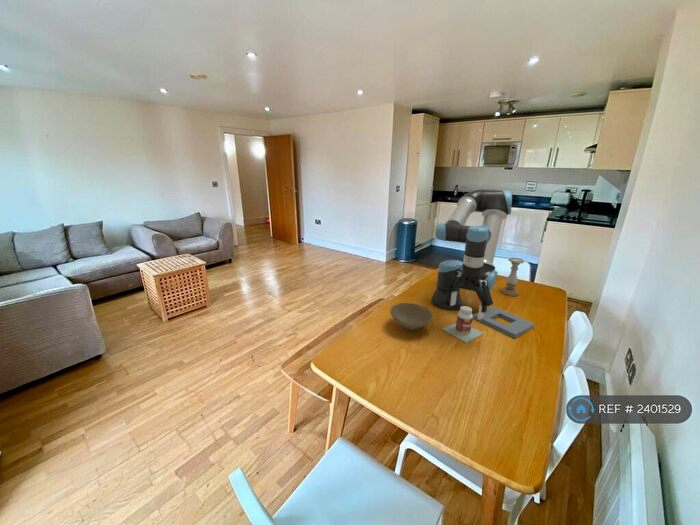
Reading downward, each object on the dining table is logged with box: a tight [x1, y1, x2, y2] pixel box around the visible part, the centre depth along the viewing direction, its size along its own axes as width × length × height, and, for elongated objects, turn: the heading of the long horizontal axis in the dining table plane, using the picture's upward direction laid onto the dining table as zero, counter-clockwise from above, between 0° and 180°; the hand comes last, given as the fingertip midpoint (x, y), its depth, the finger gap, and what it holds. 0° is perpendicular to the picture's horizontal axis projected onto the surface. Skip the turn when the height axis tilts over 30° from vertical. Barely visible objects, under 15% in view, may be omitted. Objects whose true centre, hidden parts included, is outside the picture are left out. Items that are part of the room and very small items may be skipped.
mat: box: [442, 322, 484, 344], centre depth 122 cm, size 12×12×1 cm
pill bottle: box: [455, 305, 474, 334], centre depth 120 cm, size 6×6×11 cm
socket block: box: [472, 305, 536, 340], centre depth 129 cm, size 20×16×2 cm
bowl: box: [389, 302, 433, 331], centre depth 124 cm, size 18×18×8 cm
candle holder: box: [500, 257, 525, 297], centre depth 156 cm, size 9×9×20 cm
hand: (465, 311), depth 119 cm, fingers open, 13 cm apart
